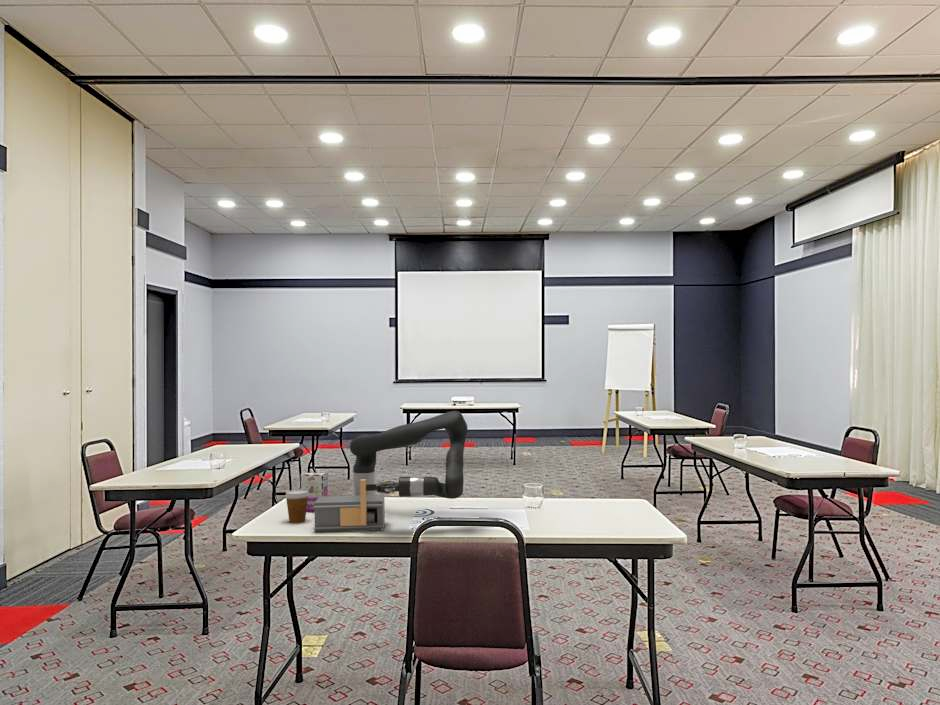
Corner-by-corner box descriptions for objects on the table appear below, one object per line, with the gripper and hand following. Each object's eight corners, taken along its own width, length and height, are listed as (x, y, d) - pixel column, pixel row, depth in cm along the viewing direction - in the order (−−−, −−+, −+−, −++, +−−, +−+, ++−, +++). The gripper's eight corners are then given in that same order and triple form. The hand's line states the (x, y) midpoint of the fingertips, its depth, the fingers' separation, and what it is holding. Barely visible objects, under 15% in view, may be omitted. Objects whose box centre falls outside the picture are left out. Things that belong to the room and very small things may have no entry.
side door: (340, 525, 252) (340, 479, 252) (366, 524, 252) (366, 478, 253) (339, 527, 248) (338, 480, 248) (366, 527, 249) (365, 480, 249)
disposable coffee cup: (284, 519, 271) (284, 490, 272) (307, 517, 275) (307, 488, 275) (286, 524, 262) (286, 494, 263) (310, 522, 266) (310, 493, 266)
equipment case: (319, 523, 263) (319, 496, 263) (384, 522, 265) (384, 494, 265) (313, 532, 250) (313, 504, 250) (382, 530, 251) (382, 502, 251)
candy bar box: (328, 510, 288) (328, 472, 288) (323, 512, 283) (322, 474, 283) (306, 509, 291) (306, 472, 291) (300, 511, 286) (299, 473, 286)
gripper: (411, 473, 258) (367, 474, 256) (410, 479, 244) (364, 480, 243) (411, 492, 258) (367, 493, 256) (411, 499, 244) (364, 501, 243)
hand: (365, 487), depth 250 cm, fingers closed
